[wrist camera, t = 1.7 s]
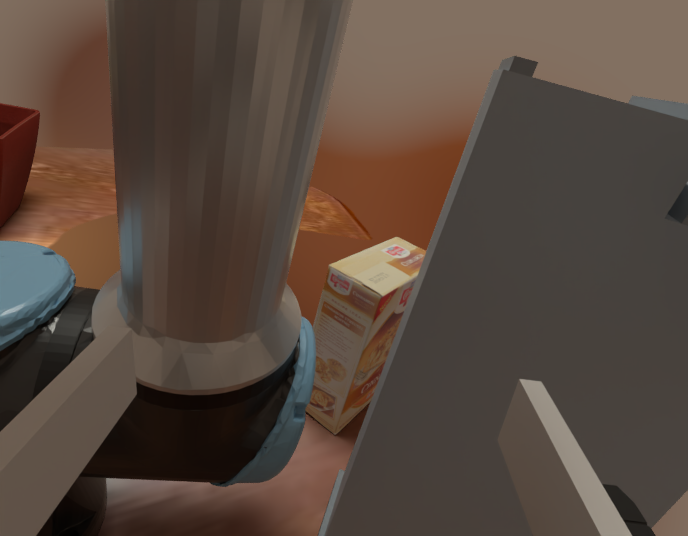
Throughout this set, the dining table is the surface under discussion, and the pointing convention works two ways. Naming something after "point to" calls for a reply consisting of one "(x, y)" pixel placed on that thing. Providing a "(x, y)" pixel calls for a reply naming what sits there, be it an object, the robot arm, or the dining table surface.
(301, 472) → the dining table surface
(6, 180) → the plant pot
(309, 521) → the dining table surface
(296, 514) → the dining table surface
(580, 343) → the stand
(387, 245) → the coffeecake box
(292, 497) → the dining table surface
